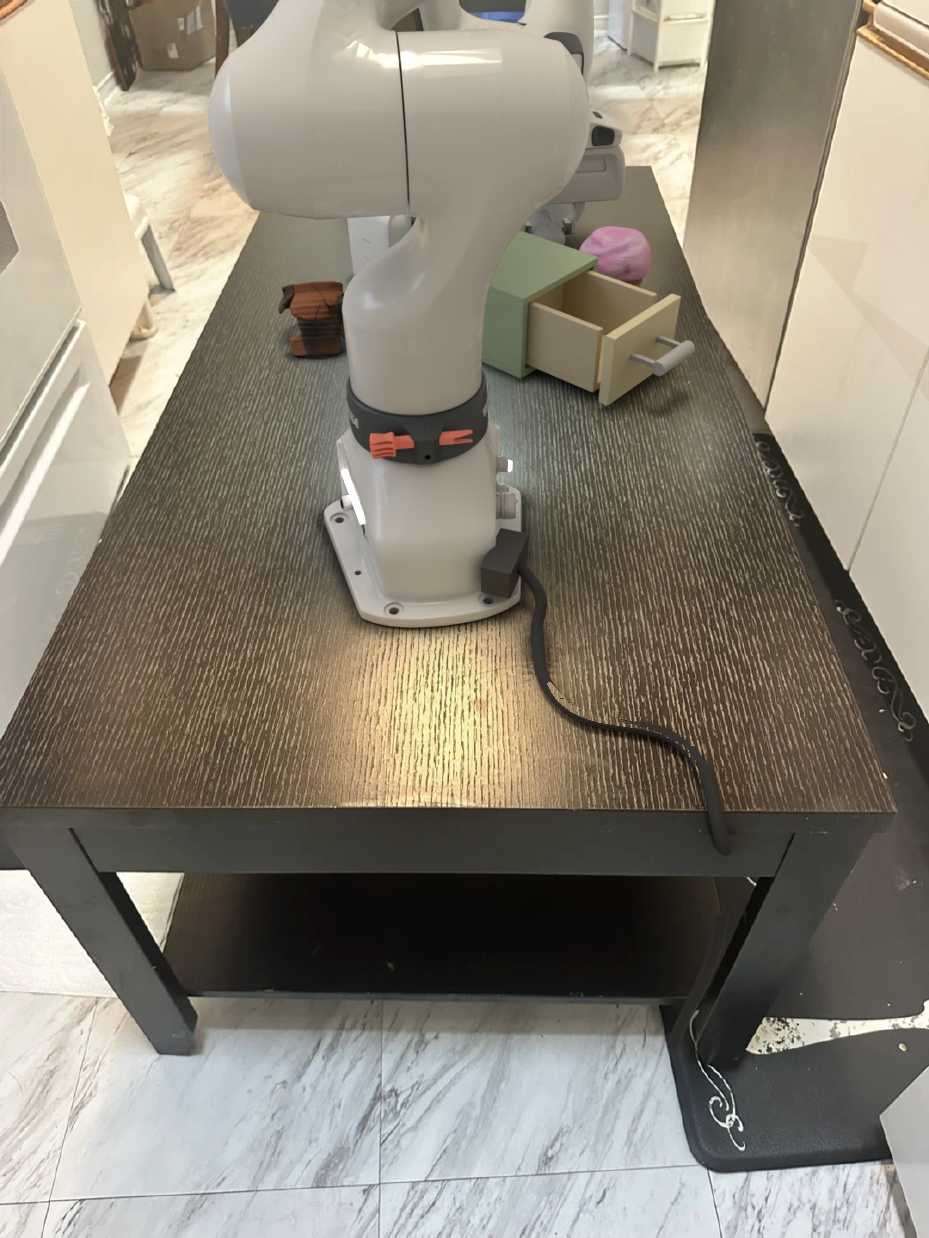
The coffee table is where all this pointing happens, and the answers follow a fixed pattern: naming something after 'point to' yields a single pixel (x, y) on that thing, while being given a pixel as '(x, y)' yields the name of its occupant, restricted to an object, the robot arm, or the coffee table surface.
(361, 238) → the photo printer
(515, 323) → the cabinet
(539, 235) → the smooth white sculpture
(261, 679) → the coffee table surface
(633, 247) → the cupcake
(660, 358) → the drawer
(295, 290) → the pottery mug
